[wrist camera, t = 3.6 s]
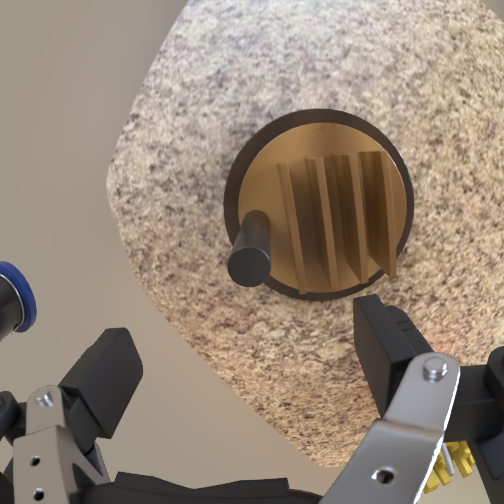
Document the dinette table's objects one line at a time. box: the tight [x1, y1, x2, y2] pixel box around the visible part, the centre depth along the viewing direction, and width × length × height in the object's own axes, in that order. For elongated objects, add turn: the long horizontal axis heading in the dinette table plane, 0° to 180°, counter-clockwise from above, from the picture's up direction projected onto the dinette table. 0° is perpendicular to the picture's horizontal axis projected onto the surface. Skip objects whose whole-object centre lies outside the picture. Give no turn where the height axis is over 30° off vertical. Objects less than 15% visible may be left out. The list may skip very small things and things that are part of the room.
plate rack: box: [227, 123, 407, 295], centre depth 22 cm, size 16×16×12 cm
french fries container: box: [423, 441, 475, 494], centre depth 27 cm, size 5×11×18 cm, turn 96°
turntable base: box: [223, 109, 414, 301], centre depth 29 cm, size 19×19×2 cm
